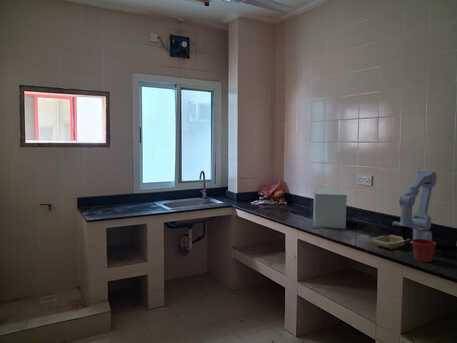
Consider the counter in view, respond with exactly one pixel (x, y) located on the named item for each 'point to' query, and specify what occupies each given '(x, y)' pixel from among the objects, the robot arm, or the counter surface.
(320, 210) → the cube
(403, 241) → the flap near
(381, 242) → the carton
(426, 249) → the flower pot
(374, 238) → the flap far
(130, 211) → the counter surface
